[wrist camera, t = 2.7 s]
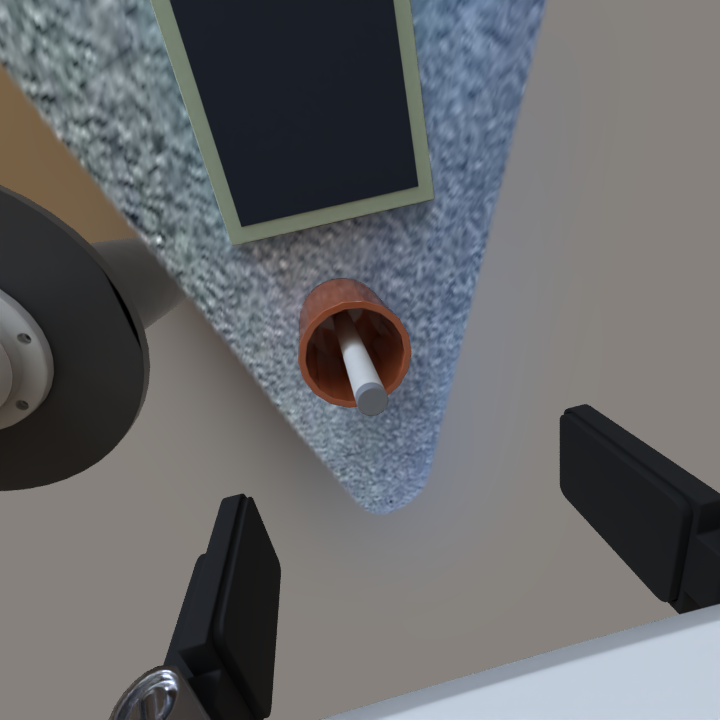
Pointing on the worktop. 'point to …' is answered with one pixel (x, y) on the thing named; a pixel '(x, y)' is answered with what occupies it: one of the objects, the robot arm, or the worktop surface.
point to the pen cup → (374, 328)
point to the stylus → (360, 368)
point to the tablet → (301, 108)
